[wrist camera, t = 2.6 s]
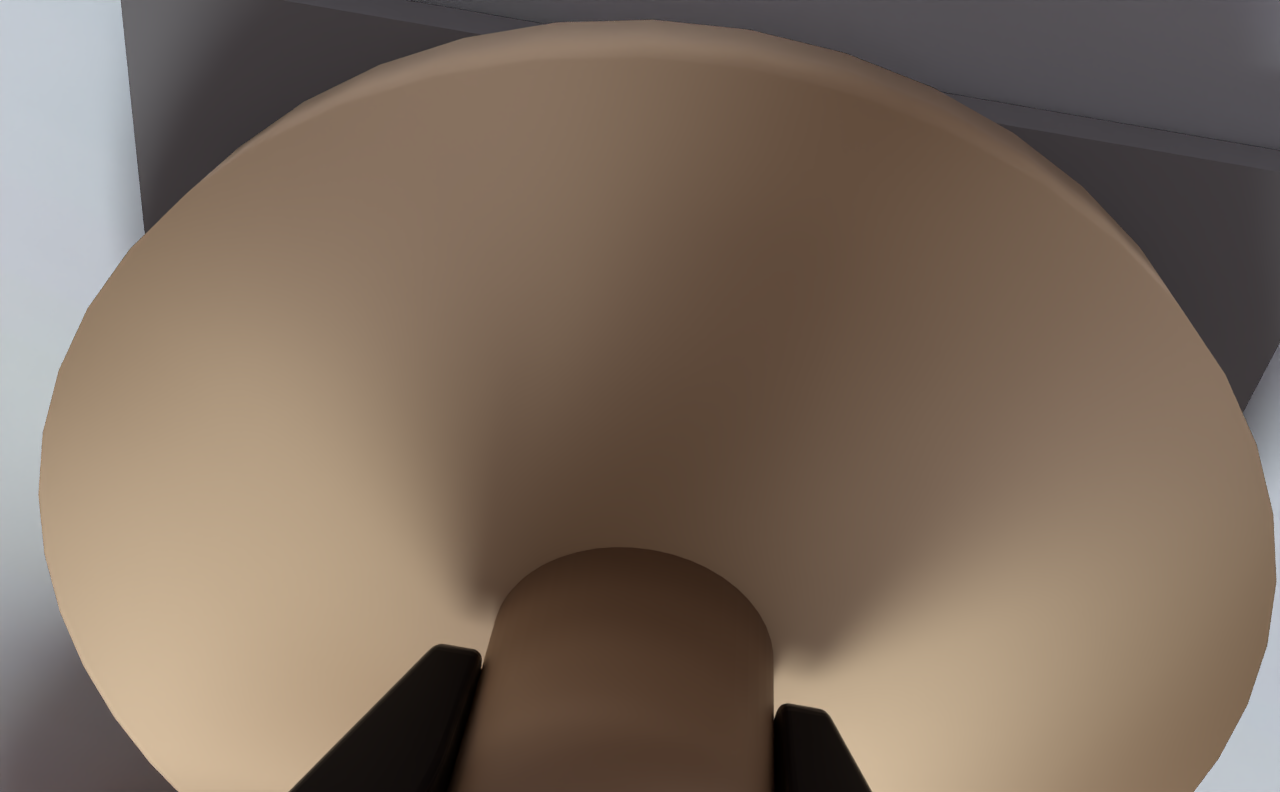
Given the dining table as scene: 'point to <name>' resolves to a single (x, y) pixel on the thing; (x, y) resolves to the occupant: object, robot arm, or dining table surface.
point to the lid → (656, 438)
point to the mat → (394, 27)
